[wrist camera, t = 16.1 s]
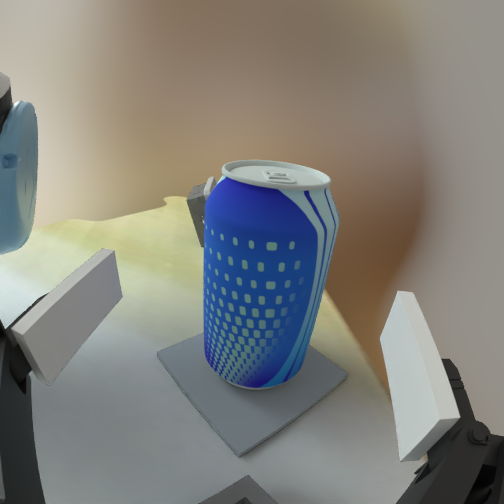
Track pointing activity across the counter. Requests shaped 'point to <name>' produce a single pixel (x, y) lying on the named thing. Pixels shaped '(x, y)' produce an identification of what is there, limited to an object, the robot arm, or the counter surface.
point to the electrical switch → (200, 205)
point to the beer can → (265, 269)
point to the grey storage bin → (241, 494)
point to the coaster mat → (248, 394)
